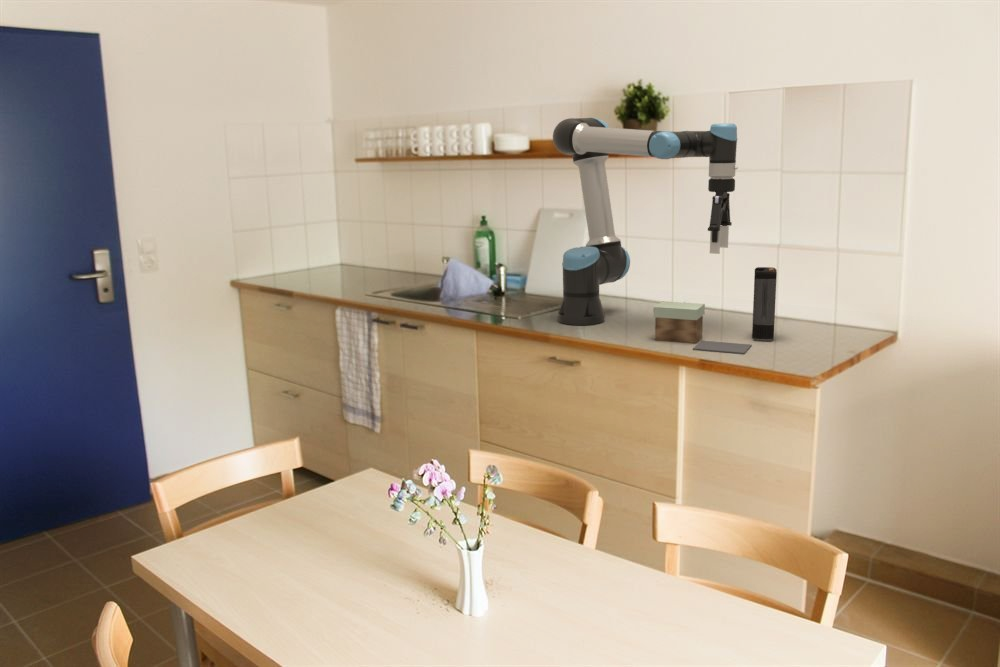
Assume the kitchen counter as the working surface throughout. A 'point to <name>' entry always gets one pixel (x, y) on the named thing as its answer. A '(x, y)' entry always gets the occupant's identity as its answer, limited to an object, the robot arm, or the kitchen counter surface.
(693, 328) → the crate
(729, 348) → the mat
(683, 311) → the block
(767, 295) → the electronic device
